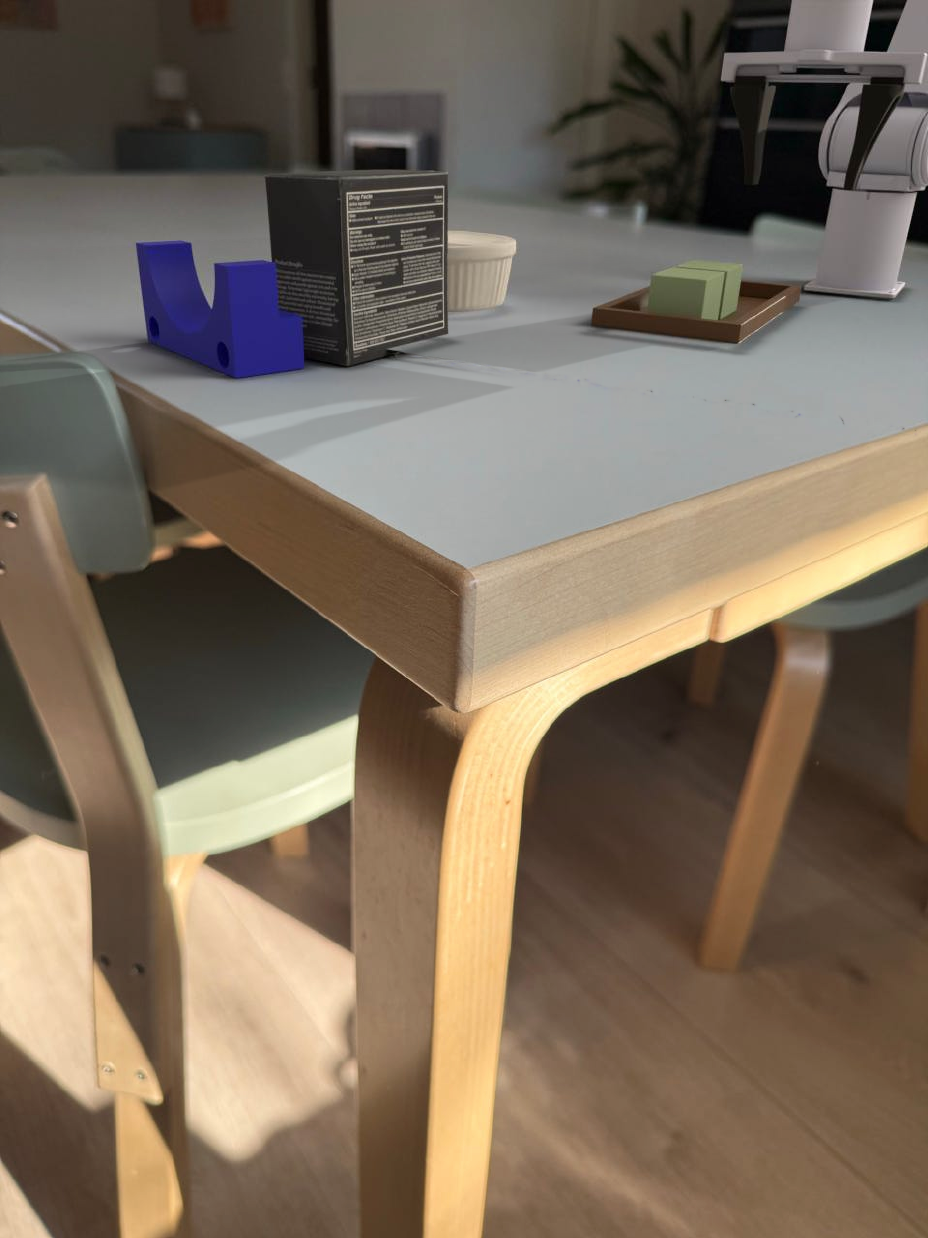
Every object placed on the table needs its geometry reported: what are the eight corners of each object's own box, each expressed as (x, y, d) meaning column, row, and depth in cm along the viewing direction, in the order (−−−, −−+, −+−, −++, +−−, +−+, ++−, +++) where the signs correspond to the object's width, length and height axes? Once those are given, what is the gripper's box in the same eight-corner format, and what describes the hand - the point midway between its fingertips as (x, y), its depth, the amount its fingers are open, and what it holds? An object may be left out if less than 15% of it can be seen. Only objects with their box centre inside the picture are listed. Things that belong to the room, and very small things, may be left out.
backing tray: (677, 294, 86) (680, 273, 85) (797, 307, 81) (802, 285, 80) (590, 333, 69) (592, 307, 68) (737, 352, 64) (741, 324, 63)
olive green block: (687, 305, 77) (693, 259, 75) (736, 310, 75) (743, 263, 74) (668, 314, 73) (674, 266, 72) (720, 319, 72) (727, 270, 70)
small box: (377, 328, 68) (375, 165, 63) (451, 341, 65) (455, 171, 60) (270, 352, 60) (258, 168, 55) (349, 368, 57) (343, 174, 52)
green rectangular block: (666, 315, 73) (671, 266, 71) (717, 321, 71) (725, 271, 69) (645, 325, 69) (650, 274, 67) (699, 331, 67) (706, 279, 65)
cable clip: (304, 368, 57) (299, 261, 54) (236, 378, 54) (226, 266, 51) (211, 333, 65) (202, 239, 62) (147, 340, 62) (135, 242, 59)
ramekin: (356, 315, 72) (354, 241, 70) (392, 293, 82) (391, 227, 79) (502, 324, 71) (505, 248, 68) (520, 300, 80) (524, 233, 78)
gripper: (723, -21, 69) (696, 183, 76) (938, -28, 64) (890, 194, 70) (745, -9, 75) (719, 180, 81) (945, -14, 69) (900, 190, 75)
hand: (799, 186), depth 76 cm, fingers open, 7 cm apart
